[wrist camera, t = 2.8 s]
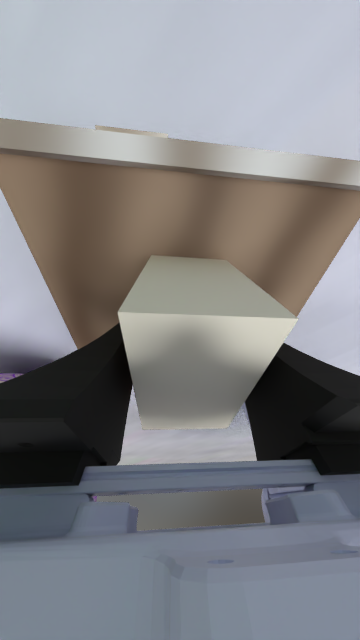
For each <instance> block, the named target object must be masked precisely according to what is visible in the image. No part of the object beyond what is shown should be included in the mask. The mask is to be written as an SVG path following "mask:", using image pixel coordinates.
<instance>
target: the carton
mask: <svg viewBox="0 0 360 640" xmlns="http://www.w3.org/2000/svg"><path fill="white" fill-rule="evenodd" d="M118 317H119V321H120V326H121V331H122V336H123V340H124V345H125V350H126V354H127V359H128V364H129V369H130V373H131V378H132V383H133V387H134V392H135V397H136V402H137V406H138V411H139V416H140V420H141V425H142V430H165V429H226V428H228V426H229V425H230V423H231V422H232V420H233V419H234V417H235V416H236V414H237V413H238V411H239V410H240V408H241V407H242V405H243V403H244V402H245V400H246V399H247V397H248V396H249V394H250V393H251V391H252V390H253V388H254V387H255V385H256V384H257V382H258V381H259V379H260V377H261V376H262V374H263V373H264V371H265V370H266V368H267V367H268V365H269V364H270V362H271V361H272V359H273V358H274V356H275V355H276V353H277V351H278V350H279V348H280V347H281V345H282V344H283V342H284V341H285V339H286V338H287V336H288V335H289V333H290V332H291V330H292V329H293V327H294V325H295V324H296V322H297V321H298V318H297V317H296V316H295V315H293V314H292V313H291V312H290V311H289V310H287V309H286V308H285V307H284V306H282V305H281V304H280V303H279V302H277V301H276V300H275V299H274V298H272V297H271V296H270V295H269V294H267V293H266V292H265V291H264V290H263V289H261V288H260V287H259V286H258V285H256V284H255V283H254V282H253V281H251V280H250V279H249V278H248V277H246V276H245V275H244V274H243V273H242V272H240V271H239V270H238V269H237V268H235V267H234V266H233V265H232V264H230V263H229V262H228V261H227V260H219V259H203V258H188V257H172V256H156V255H151V257H150V258H149V260H148V262H147V263H146V265H145V267H144V268H143V270H142V272H141V273H140V275H139V277H138V279H137V280H136V282H135V284H134V285H133V287H132V289H131V290H130V292H129V294H128V295H127V297H126V299H125V300H124V302H123V304H122V305H121V307H120V309H119V310H118Z"/></svg>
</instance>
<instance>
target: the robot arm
mask: <svg viewBox="0 0 360 640" xmlns="http://www.w3.org/2000/svg"><path fill="white" fill-rule="evenodd" d="M132 385H133V383H132V378H131V373H130V369H129V364H128V359H127V354H126V350H125V345H124V340H123V336H122V331H121V326H120V322H119V323H118V324H117V325H115V326H114V327H113V328H111V329H110V330H109V331H107V332H106V333H105V334H103V335H102V336H100V337H99V338H97V339H96V340H94V341H92V342H91V343H89V344H87V345H86V346H84V347H82V348H80V349H78V350H76V351H74V352H72V353H71V354H69V355H67V356H65V357H63V358H61V359H58V360H56V361H54V362H52V363H50V364H47V365H45V366H43V367H40V368H38V369H36V370H33V371H31V372H28V373H26V374H23V375H20V376H18V377H15V378H13V379H10V380H8V381H5V382H2V383H0V640H360V376H358V375H355V374H352V373H350V372H347V371H345V370H342V369H339V368H337V367H334V366H332V365H329V364H327V363H325V362H322V361H320V360H318V359H315V358H313V357H311V356H309V355H307V354H305V353H302V352H300V351H298V350H296V349H295V348H293V347H291V346H289V345H287V344H285V343H283V344H282V345H281V347H280V348H279V350H278V351H277V353H276V355H275V356H274V358H273V359H272V361H271V362H270V364H269V365H268V367H267V368H266V370H265V371H264V373H263V374H262V376H261V377H260V379H259V381H258V382H257V384H256V385H255V387H254V388H253V390H252V391H251V393H250V394H249V396H248V397H247V399H246V400H245V402H244V403H243V405H242V407H241V408H240V409H244V412H245V414H246V417H247V420H248V423H249V425H250V428H251V431H252V436H253V441H254V446H255V451H256V457H257V461H242V462H211V463H180V464H149V465H119V466H116V465H117V464H118V463H119V461H120V458H121V450H122V444H123V437H124V430H125V424H126V418H127V412H128V407H129V401H130V396H131V390H132ZM241 489H263V493H262V507H263V513H264V518H265V522H266V523H256V524H238V525H221V526H205V527H188V528H173V529H158V530H143V531H137V530H136V528H137V527H136V526H137V517H138V508H137V507H133V506H130V504H129V502H95V501H94V498H93V497H92V496H111V495H131V494H132V495H133V494H152V493H153V494H154V493H175V492H197V491H218V490H219V491H220V490H241Z"/></svg>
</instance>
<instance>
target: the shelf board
mask: <svg viewBox="0 0 360 640" xmlns="http://www.w3.org/2000/svg"><path fill="white" fill-rule="evenodd" d="M95 128H96V130H95V129H87V128H79V127H70V126H62V125H53V124H45V123H36V122H28V121H20V120H11V119H3V118H0V188H1V190H2V192H3V194H4V196H5V199H6V201H7V203H8V205H9V207H10V209H11V211H12V213H13V215H14V217H15V219H16V221H17V224H18V226H19V228H20V230H21V232H22V234H23V236H24V238H25V240H26V242H27V244H28V246H29V249H30V251H31V253H32V255H33V257H34V259H35V261H36V263H37V265H38V267H39V269H40V271H41V274H42V276H43V278H44V280H45V282H46V284H47V286H48V288H49V290H50V292H51V294H52V296H53V299H54V301H55V303H56V305H57V307H58V309H59V311H60V313H61V315H62V317H63V319H64V321H65V324H66V326H67V328H68V330H69V332H70V334H71V336H72V338H73V340H74V342H75V344H76V346H77V349H80V348H82V347H84V346H86V345H87V344H89V343H91V342H92V341H94V340H96V339H97V338H99V337H100V336H102V335H103V334H105V333H106V332H107V331H109V330H110V329H111V328H113V327H114V326H115V325H117V324H118V323H119V322H120V321H119V317H118V310H119V309H120V307H121V305H122V304H123V302H124V300H125V299H126V297H127V295H128V294H129V292H130V290H131V289H132V287H133V285H134V284H135V282H136V280H137V279H138V277H139V275H140V273H141V272H142V270H143V268H144V267H145V265H146V263H147V262H148V260H149V258H150V257H151V255H156V256H172V257H188V258H203V259H219V260H227V261H228V262H229V263H230V264H232V265H233V266H234V267H235V268H237V269H238V270H239V271H240V272H242V273H243V274H244V275H245V276H246V277H248V278H249V279H250V280H251V281H253V282H254V283H255V284H256V285H258V286H259V287H260V288H261V289H263V290H264V291H265V292H266V293H267V294H269V295H270V296H271V297H272V298H274V299H275V300H276V301H277V302H279V303H280V304H281V305H282V306H284V307H285V308H286V309H287V310H289V311H290V312H291V313H292V314H293V315H295V316H296V317H297V316H298V314H299V312H300V311H301V309H302V308H303V306H304V305H305V303H306V301H307V300H308V298H309V297H310V295H311V294H312V292H313V290H314V289H315V287H316V286H317V284H318V283H319V281H320V279H321V278H322V276H323V275H324V273H325V272H326V270H327V268H328V267H329V265H330V264H331V262H332V261H333V259H334V258H335V256H336V254H337V253H338V251H339V250H340V248H341V247H342V245H343V243H344V242H345V240H346V239H347V237H348V236H349V234H350V232H351V231H352V229H353V228H354V226H355V225H356V223H357V221H358V220H359V218H360V161H356V160H347V159H339V158H331V157H322V156H314V155H305V154H297V153H289V152H280V151H272V150H263V149H255V148H247V147H238V146H230V145H221V144H213V143H205V142H196V141H188V140H179V139H171V138H168V134H163V133H155V132H147V131H138V130H130V129H122V128H114V127H105V126H97V125H95Z"/></svg>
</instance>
